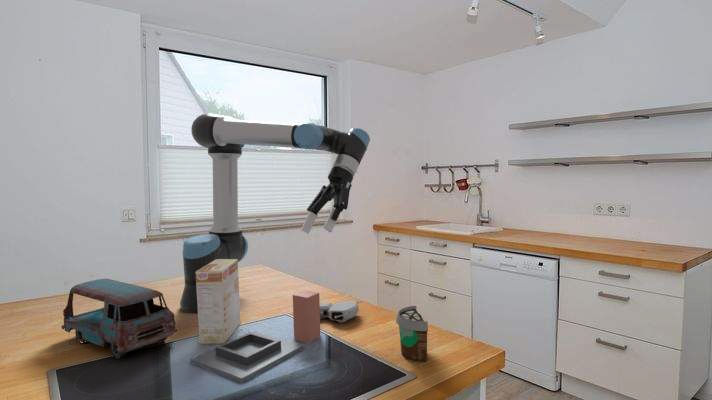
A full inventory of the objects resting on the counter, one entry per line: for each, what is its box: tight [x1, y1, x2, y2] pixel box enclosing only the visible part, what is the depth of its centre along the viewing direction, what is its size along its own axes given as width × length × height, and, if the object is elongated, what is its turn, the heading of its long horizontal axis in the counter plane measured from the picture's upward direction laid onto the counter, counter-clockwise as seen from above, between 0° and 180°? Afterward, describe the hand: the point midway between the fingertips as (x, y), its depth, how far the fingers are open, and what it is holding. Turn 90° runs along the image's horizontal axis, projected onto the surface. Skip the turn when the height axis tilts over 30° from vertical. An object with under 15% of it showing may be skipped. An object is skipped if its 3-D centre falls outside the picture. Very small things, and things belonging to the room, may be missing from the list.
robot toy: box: [320, 300, 362, 324], centre depth 129 cm, size 12×4×15 cm
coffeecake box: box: [195, 259, 242, 345], centre depth 118 cm, size 15×7×20 cm, turn 178°
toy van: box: [61, 278, 178, 359], centre depth 114 cm, size 16×32×15 cm, turn 57°
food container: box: [395, 305, 429, 363], centre depth 102 cm, size 12×6×10 cm, turn 5°
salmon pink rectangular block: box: [292, 289, 321, 343], centre depth 113 cm, size 5×5×12 cm
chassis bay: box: [189, 330, 305, 384], centre depth 103 cm, size 18×20×3 cm
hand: (315, 230), depth 127 cm, fingers open, 13 cm apart
